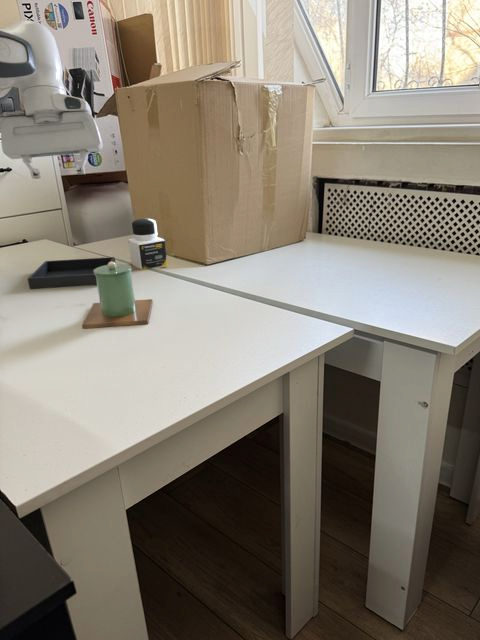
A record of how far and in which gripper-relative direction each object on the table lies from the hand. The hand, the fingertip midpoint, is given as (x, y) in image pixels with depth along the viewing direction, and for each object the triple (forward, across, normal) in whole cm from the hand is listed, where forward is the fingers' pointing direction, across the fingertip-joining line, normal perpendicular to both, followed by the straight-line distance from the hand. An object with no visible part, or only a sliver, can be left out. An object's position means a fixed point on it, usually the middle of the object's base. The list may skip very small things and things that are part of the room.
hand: (59, 176), depth 109 cm
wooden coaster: (+31, +10, -15) cm, 35 cm away
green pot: (+30, +10, -15) cm, 35 cm away
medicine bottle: (+21, +15, +19) cm, 31 cm away
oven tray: (+22, -3, +12) cm, 25 cm away
